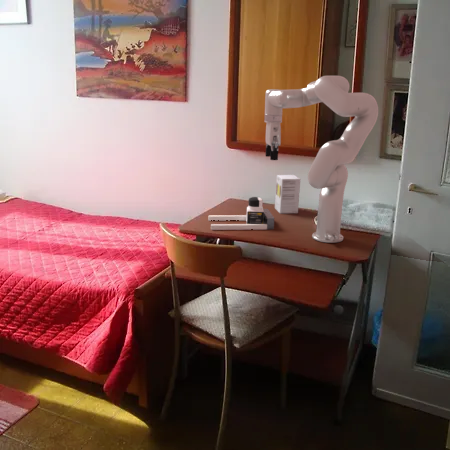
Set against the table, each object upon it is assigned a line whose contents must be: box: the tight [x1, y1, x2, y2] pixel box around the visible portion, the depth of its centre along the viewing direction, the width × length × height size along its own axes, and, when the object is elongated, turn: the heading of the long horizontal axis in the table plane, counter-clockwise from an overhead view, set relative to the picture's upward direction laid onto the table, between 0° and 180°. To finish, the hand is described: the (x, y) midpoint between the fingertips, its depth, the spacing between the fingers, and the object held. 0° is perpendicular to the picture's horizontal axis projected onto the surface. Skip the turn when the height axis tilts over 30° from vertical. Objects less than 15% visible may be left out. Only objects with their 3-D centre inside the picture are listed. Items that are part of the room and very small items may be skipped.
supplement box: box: [274, 174, 301, 214], centre depth 257 cm, size 10×9×17 cm
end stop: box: [263, 208, 275, 230], centre depth 236 cm, size 15×3×5 cm, turn 6°
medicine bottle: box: [245, 196, 264, 224], centre depth 234 cm, size 7×7×12 cm
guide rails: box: [207, 214, 268, 231], centre depth 235 cm, size 15×24×2 cm, turn 96°
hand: (271, 158), depth 236 cm, fingers open, 9 cm apart
